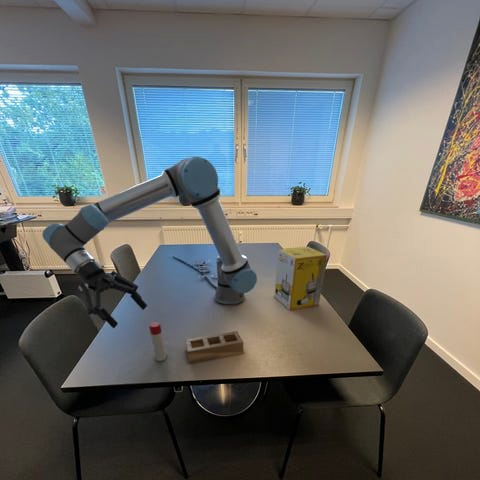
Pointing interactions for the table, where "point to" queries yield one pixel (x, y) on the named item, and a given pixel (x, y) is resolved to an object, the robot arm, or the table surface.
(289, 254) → the packaging box
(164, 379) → the table surface
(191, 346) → the pen holder
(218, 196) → the robot arm
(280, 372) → the table surface
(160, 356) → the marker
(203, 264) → the drone parts
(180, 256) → the table surface
